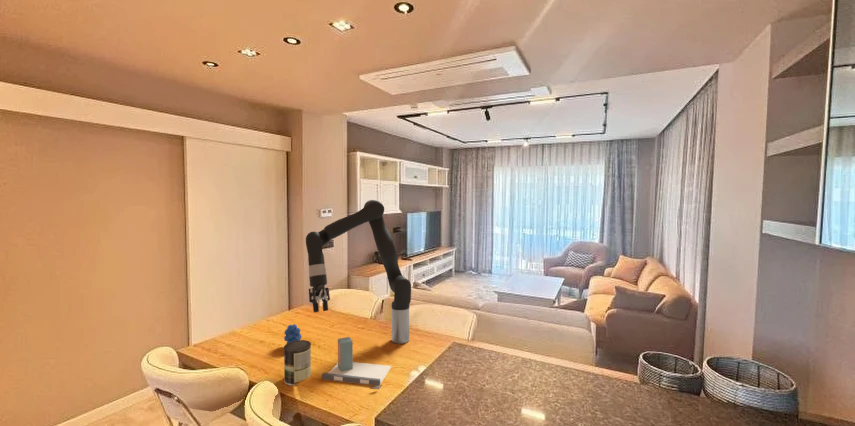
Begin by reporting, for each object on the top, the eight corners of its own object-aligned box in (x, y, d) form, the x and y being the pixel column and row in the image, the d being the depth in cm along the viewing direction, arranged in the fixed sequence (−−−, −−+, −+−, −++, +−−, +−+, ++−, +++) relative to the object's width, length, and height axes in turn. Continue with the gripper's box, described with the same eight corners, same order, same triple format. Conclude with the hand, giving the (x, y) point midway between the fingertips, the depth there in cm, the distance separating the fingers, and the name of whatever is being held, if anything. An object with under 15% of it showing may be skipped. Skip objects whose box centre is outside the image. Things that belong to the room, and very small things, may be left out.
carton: (349, 363, 149) (349, 336, 148) (352, 368, 144) (352, 340, 144) (337, 366, 146) (337, 338, 146) (340, 371, 142) (340, 343, 141)
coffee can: (280, 386, 133) (279, 351, 133) (288, 373, 143) (288, 340, 143) (307, 385, 134) (307, 350, 134) (313, 372, 144) (313, 339, 144)
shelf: (340, 364, 152) (340, 356, 152) (391, 369, 147) (391, 361, 147) (321, 382, 136) (321, 374, 136) (379, 389, 131) (379, 380, 131)
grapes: (308, 347, 169) (307, 323, 168) (296, 352, 163) (296, 327, 163) (292, 342, 175) (292, 319, 174) (280, 347, 169) (280, 323, 169)
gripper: (317, 273, 149) (321, 311, 145) (332, 274, 163) (336, 309, 159) (301, 276, 150) (305, 314, 146) (318, 277, 164) (321, 311, 160)
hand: (321, 311), depth 152 cm, fingers open, 8 cm apart
